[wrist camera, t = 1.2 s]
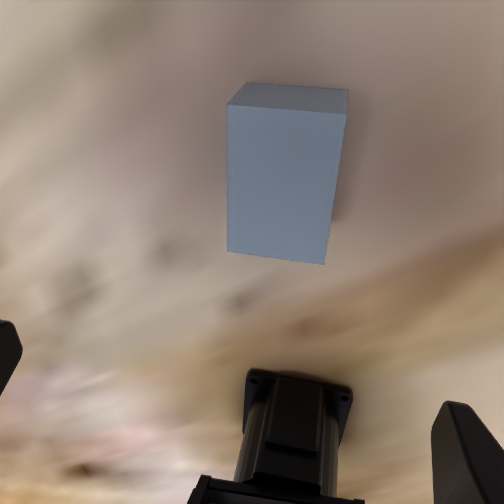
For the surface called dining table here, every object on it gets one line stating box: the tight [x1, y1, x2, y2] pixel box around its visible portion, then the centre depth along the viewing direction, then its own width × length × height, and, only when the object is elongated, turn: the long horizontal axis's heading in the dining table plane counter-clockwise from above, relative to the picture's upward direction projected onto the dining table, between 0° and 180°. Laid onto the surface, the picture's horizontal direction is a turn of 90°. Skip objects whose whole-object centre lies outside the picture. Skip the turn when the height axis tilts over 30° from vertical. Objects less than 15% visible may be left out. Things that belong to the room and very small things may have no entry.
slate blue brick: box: [227, 82, 348, 265], centre depth 17 cm, size 6×4×4 cm, turn 178°
